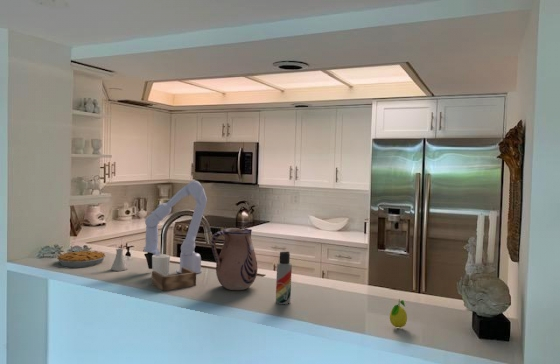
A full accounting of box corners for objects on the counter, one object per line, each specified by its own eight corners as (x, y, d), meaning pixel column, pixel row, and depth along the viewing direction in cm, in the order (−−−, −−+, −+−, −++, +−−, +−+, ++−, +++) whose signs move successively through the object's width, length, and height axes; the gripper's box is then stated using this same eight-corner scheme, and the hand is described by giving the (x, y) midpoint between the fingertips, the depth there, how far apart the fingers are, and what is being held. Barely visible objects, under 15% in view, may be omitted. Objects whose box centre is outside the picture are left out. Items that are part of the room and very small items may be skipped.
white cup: (158, 280, 191) (159, 258, 190) (147, 277, 195) (148, 255, 195) (173, 277, 197) (173, 255, 197) (162, 274, 202) (162, 253, 201)
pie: (114, 261, 225) (114, 252, 225) (80, 270, 205) (80, 260, 205) (83, 256, 233) (83, 247, 233) (47, 264, 213) (47, 254, 213)
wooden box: (183, 279, 195) (184, 267, 194) (195, 285, 186) (196, 272, 186) (151, 284, 185) (152, 271, 185) (162, 290, 176) (163, 277, 176)
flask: (130, 269, 209) (130, 248, 209) (117, 272, 203) (118, 251, 203) (120, 267, 213) (121, 247, 213) (107, 269, 207) (108, 249, 207)
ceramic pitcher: (265, 288, 185) (267, 230, 184) (227, 298, 169) (229, 235, 168) (238, 280, 197) (239, 225, 196) (200, 288, 181) (202, 229, 180)
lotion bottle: (279, 305, 163) (281, 253, 162) (273, 301, 168) (274, 250, 167) (293, 303, 166) (294, 252, 165) (286, 299, 171) (287, 249, 170)
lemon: (403, 325, 147) (405, 296, 147) (411, 331, 141) (412, 301, 141) (385, 325, 146) (386, 296, 146) (391, 332, 140) (392, 301, 140)
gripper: (137, 238, 207) (137, 266, 208) (149, 243, 196) (149, 272, 196) (152, 237, 212) (151, 264, 212) (164, 241, 200) (163, 270, 201)
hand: (151, 268), depth 204 cm, fingers closed
